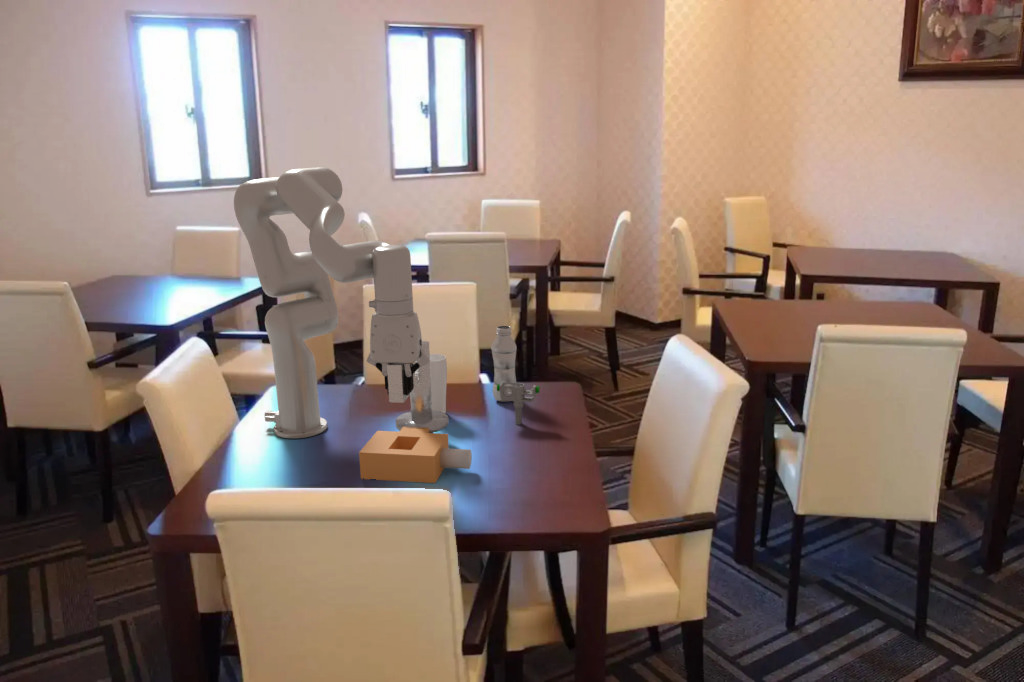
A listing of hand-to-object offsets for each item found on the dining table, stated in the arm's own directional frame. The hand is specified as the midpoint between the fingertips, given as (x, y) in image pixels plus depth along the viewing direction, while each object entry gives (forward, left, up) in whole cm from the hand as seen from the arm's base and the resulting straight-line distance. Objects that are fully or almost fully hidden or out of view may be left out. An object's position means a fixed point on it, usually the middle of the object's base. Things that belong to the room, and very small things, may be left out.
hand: (399, 392), depth 168 cm
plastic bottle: (+14, +45, -18) cm, 51 cm away
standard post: (0, +14, -17) cm, 22 cm away
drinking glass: (-2, +33, -18) cm, 38 cm away
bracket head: (+3, +2, -17) cm, 18 cm away
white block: (0, 0, -1) cm, 1 cm away
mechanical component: (+20, +29, -18) cm, 40 cm away
